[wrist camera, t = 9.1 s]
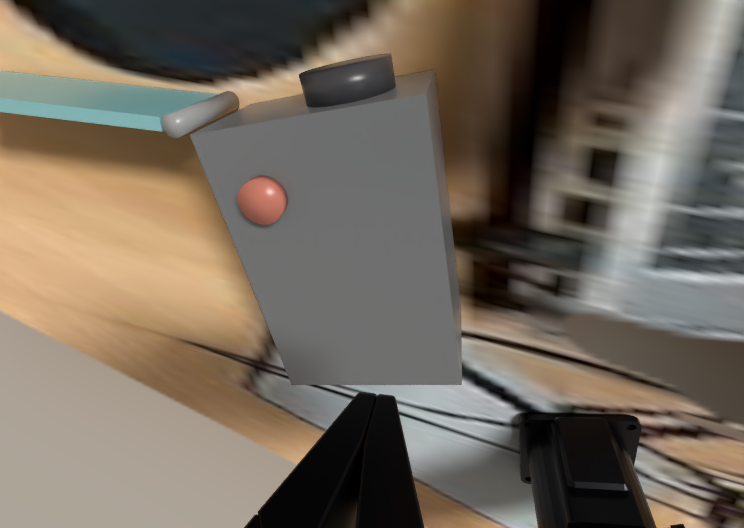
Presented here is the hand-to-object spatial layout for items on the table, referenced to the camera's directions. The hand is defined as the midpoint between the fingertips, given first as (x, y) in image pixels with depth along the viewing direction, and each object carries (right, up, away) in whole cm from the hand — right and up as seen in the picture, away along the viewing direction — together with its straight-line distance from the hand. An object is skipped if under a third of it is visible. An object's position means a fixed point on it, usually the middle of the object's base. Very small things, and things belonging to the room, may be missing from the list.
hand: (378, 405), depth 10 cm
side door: (-12, +11, +9) cm, 19 cm away
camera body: (0, +5, +11) cm, 12 cm away
